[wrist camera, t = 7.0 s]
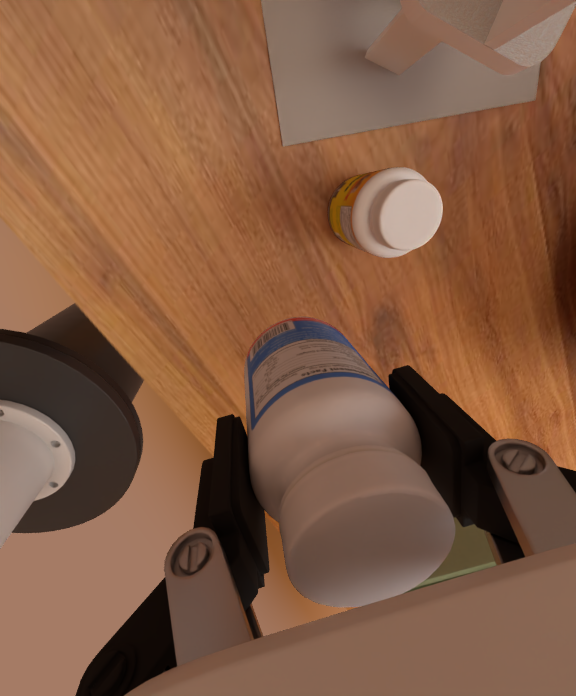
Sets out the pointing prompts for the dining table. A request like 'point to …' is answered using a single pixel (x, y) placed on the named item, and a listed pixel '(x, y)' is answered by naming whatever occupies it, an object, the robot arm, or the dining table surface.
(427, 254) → the dining table surface
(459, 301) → the dining table surface
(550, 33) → the architectural model
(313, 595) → the pill bottle
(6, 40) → the dining table surface
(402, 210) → the supplement bottle
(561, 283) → the dining table surface
